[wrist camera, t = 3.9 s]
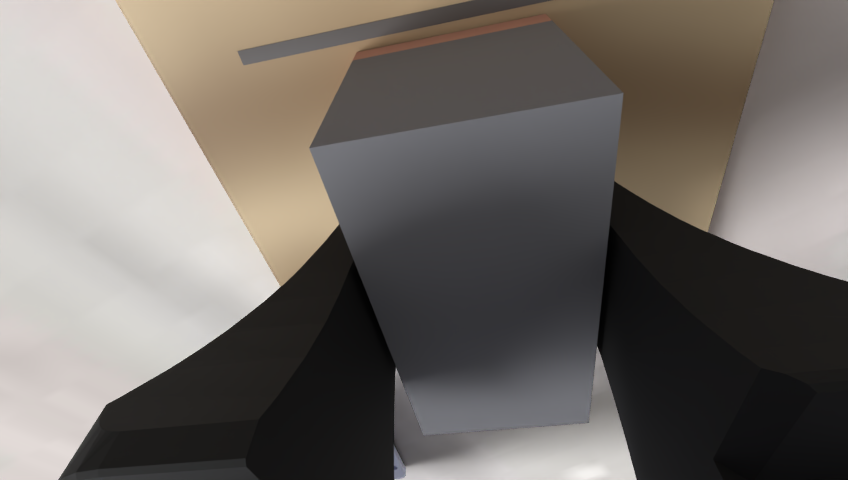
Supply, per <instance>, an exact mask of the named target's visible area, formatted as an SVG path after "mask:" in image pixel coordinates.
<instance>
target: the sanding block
mask: <svg viewBox="0 0 848 480" xmlns="http://www.w3.org/2000/svg"><path fill="white" fill-rule="evenodd" d="M623 94H624V93H623V92H622V91H621V90H620V89H619V88H618V87H617V86H616V85H615V84H614V83H613V82H612V81H611V80H610V79H609V78H608V77H607V76H606V75H605V74H604V73H603V72H602V71H601V70H600V69H599V68H598V67H597V66H596V65H595V64H594V62H593V61H592V60H591V59H590V58H589V57H588V56H587V55H586V54H585V53H584V52H583V51H582V50H581V49H580V48H579V47H578V46H577V45H576V44H575V43H574V42H573V41H572V40H571V39H570V38H569V37H568V36H567V35H566V34H565V33H564V32H563V31H562V30H561V29H560V28H559V27H558V26H557V25H556V24H555V23H554V22H553V21H552V20H551V19H550V18H549V17H548V16H547V15H546V14H542V15H537V16H532V17H527V18H522V19H517V20H512V21H507V22H502V23H498V24H493V25H488V26H483V27H478V28H473V29H468V30H463V31H458V32H453V33H448V34H444V35H439V36H434V37H429V38H424V39H419V40H414V41H409V42H404V43H399V44H394V45H390V46H385V47H380V48H375V49H370V50H365V51H360V52H357V53H356V55H355V57H354V59H353V61H352V63H351V65H350V67H349V69H348V71H347V73H346V75H345V77H344V79H343V81H342V83H341V85H340V87H339V89H338V91H337V93H336V95H335V97H334V99H333V101H332V103H331V105H330V107H329V109H328V111H327V113H326V115H325V117H324V119H323V121H322V123H321V125H320V127H319V129H318V131H317V133H316V135H315V137H314V139H313V141H312V143H311V145H310V147H309V149H310V152H311V154H312V157H313V159H314V162H315V164H316V167H317V169H318V172H319V174H320V177H321V179H322V182H323V184H324V187H325V189H326V192H327V194H328V197H329V199H330V202H331V204H332V207H333V209H334V212H335V214H336V217H337V219H338V222H339V224H340V227H341V229H342V232H343V234H344V237H345V240H346V242H347V245H348V247H349V250H350V252H351V255H352V257H353V260H354V262H355V265H356V267H357V270H358V272H359V275H360V277H361V280H362V282H363V285H364V287H365V290H366V292H367V295H368V297H369V300H370V302H371V305H372V307H373V310H374V312H375V315H376V317H377V320H378V322H379V325H380V328H381V330H382V333H383V335H384V338H385V340H386V343H387V345H388V348H389V350H390V353H391V355H392V358H393V360H394V363H395V365H396V368H397V370H398V373H399V375H400V378H401V380H402V383H403V385H404V388H405V390H406V393H407V395H408V398H409V400H410V403H411V405H412V408H413V410H414V413H415V415H416V418H417V421H418V423H419V426H420V428H421V431H422V433H423V436H424V435H437V434H450V433H463V432H476V431H489V430H502V429H515V428H528V427H541V426H554V425H567V424H580V423H589V415H590V405H591V396H592V386H593V377H594V368H595V358H596V349H597V339H598V330H599V320H600V311H601V301H602V292H603V282H604V273H605V264H606V254H607V245H608V235H609V226H610V216H611V207H612V197H613V188H614V179H615V169H616V160H617V150H618V141H619V131H620V122H621V112H622V103H623Z"/></svg>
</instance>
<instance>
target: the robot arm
mask: <svg viewBox="0 0 848 480" xmlns="http://www.w3.org/2000/svg"><path fill="white" fill-rule="evenodd" d="M597 346H598V349H599V352H600V354H601V357H602V360H603V363H604V367H605V370H606V373H607V376H608V380H609V383H610V386H611V390H612V393H613V396H614V400H615V403H616V407H617V410H618V413H619V417H620V420H621V424H622V427H623V431H624V434H625V438H626V441H627V445H628V449H629V452H630V456H631V460H632V464H633V467H634V471H635V475H636V478H637V480H848V282H847V281H843V280H840V279H836V278H833V277H829V276H826V275H822V274H819V273H816V272H813V271H810V270H806V269H803V268H800V267H797V266H794V265H791V264H788V263H785V262H782V261H780V260H777V259H774V258H771V257H768V256H765V255H763V254H760V253H757V252H754V251H751V250H749V249H746V248H744V247H741V246H739V245H736V244H733V243H731V242H729V241H726V240H724V239H722V238H719V237H717V236H715V235H713V234H710V233H708V232H706V231H703V230H701V229H699V228H697V227H695V226H693V225H691V224H688V223H686V222H684V221H682V220H680V219H679V218H677V217H675V216H673V215H671V214H669V213H667V212H665V211H663V210H662V209H660V208H658V207H656V206H654V205H653V204H651V203H649V202H647V201H646V200H644V199H642V198H641V197H639V196H637V195H636V194H634V193H632V192H631V191H629V190H628V189H626V188H624V187H623V186H621V185H620V184H618V183H617V182H615V181H614V188H613V197H612V207H611V216H610V226H609V235H608V245H607V254H606V264H605V273H604V282H603V292H602V301H601V311H600V320H599V330H598V339H597ZM395 370H396V365H395V363H394V360H393V358H392V355H391V353H390V350H389V348H388V345H387V343H386V340H385V338H384V335H383V333H382V330H381V328H380V325H379V322H378V320H377V317H376V315H375V312H374V310H373V307H372V305H371V302H370V300H369V297H368V295H367V292H366V290H365V287H364V285H363V282H362V280H361V277H360V275H359V272H358V270H357V267H356V265H355V262H354V260H353V257H352V255H351V252H350V250H349V247H348V245H347V242H346V240H345V237H344V234H343V232H342V229H341V227H340V224H339V225H338V226H337V227H336V229H335V230H334V231H333V232H332V233H331V235H330V236H329V237H328V238H327V240H326V241H325V242H324V243H323V244H322V245H321V246H320V247H319V248H318V250H317V251H316V252H315V253H314V254H313V255H312V256H311V257H310V258H309V259H308V260H307V261H306V263H305V264H304V265H303V266H302V267H301V268H300V269H299V270H298V271H297V272H296V273H295V274H294V275H293V276H292V277H291V278H290V279H289V280H288V281H287V282H286V283H285V284H284V285H282V286H281V287H280V288H279V289H278V290H277V291H276V292H275V293H273V294H272V295H271V296H270V297H269V298H268V299H267V300H265V301H264V302H263V303H262V304H261V305H259V306H258V307H257V308H256V309H254V310H253V311H252V312H250V313H249V314H248V315H247V316H245V317H244V318H243V319H241V320H240V321H239V322H238V323H236V324H235V325H234V326H232V327H231V328H230V329H229V330H227V331H226V332H224V333H223V334H222V335H220V336H219V337H217V338H216V339H214V340H213V341H211V342H210V343H209V344H207V345H206V346H204V347H203V348H201V349H200V350H198V351H197V352H195V353H194V354H192V355H191V356H189V357H187V358H186V359H184V360H183V361H181V362H180V363H178V364H176V365H175V366H173V367H172V368H170V369H168V370H167V371H165V372H163V373H162V374H160V375H158V376H156V377H155V378H153V379H151V380H149V381H148V382H146V383H144V384H142V385H141V386H139V387H137V388H136V389H134V390H132V391H130V392H129V393H127V394H125V395H123V396H122V397H120V398H118V399H116V400H114V401H112V402H111V403H109V404H107V405H106V406H105V408H104V409H103V411H102V412H101V414H100V416H99V417H98V419H97V420H96V422H95V423H94V425H93V427H92V428H91V430H90V431H89V433H88V434H87V436H86V437H85V439H84V441H83V442H82V444H81V445H80V447H79V448H78V450H77V452H76V453H75V455H74V456H73V458H72V459H71V461H70V463H69V464H68V466H67V467H66V469H65V470H64V472H63V473H62V475H61V477H60V478H59V480H394V479H400V478H403V477H405V476H406V468H405V466H404V464H403V462H402V460H401V458H400V456H399V454H398V452H397V450H396V448H395V446H394V395H395Z"/></svg>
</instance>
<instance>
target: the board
mask: <svg viewBox="0 0 848 480" xmlns="http://www.w3.org/2000/svg"><path fill="white" fill-rule="evenodd" d="M116 2H117V4H118V6H119V7H120V9H121V11H122V13H123V14H124V16H125V18H126V19H127V21H128V23H129V25H130V26H131V28H132V30H133V32H134V33H135V35H136V37H137V39H138V40H139V42H140V44H141V45H142V47H143V49H144V51H145V52H146V54H147V56H148V58H149V59H150V61H151V63H152V65H153V66H154V68H155V70H156V71H157V73H158V75H159V77H160V78H161V80H162V82H163V84H164V85H165V87H166V89H167V91H168V92H169V94H170V96H171V97H172V99H173V101H174V103H175V104H176V106H177V108H178V110H179V111H180V113H181V115H182V116H183V118H184V120H185V122H186V123H187V125H188V127H189V129H190V130H191V132H192V134H193V136H194V137H195V139H196V141H197V142H198V144H199V146H200V148H201V149H202V151H203V153H204V155H205V156H206V158H207V160H208V162H209V163H210V165H211V167H212V168H213V170H214V172H215V174H216V175H217V177H218V179H219V181H220V182H221V184H222V186H223V188H224V189H225V191H226V193H227V194H228V196H229V198H230V200H231V201H232V203H233V205H234V207H235V208H236V210H237V212H238V214H239V215H240V217H241V219H242V220H243V222H244V224H245V226H246V227H247V229H248V231H249V233H250V234H251V236H252V238H253V240H254V241H255V243H256V245H257V246H258V248H259V250H260V252H261V253H262V255H263V257H264V259H265V260H266V262H267V264H268V266H269V267H270V269H271V271H272V272H273V274H274V276H275V278H276V279H277V281H278V283H279V285H280V286H282V285H284V284H285V283H286V282H287V281H288V280H289V279H290V278H291V277H292V276H293V275H294V274H295V273H296V272H297V271H298V270H299V269H300V268H301V267H302V266H303V265H304V264H305V263H306V261H307V260H308V259H309V258H310V257H311V256H312V255H313V254H314V253H315V252H316V251H317V250H318V248H319V247H320V246H321V245H322V244H323V243H324V242H325V241H326V240H327V238H328V237H329V236H330V235H331V233H332V232H333V231H334V230H335V229H336V227H337V226H338V225H339V222H338V219H337V217H336V214H335V212H334V209H333V207H332V204H331V202H330V199H329V197H328V194H327V192H326V189H325V187H324V184H323V182H322V179H321V177H320V174H319V172H318V169H317V167H316V164H315V162H314V159H313V157H312V154H311V152H310V149H309V147H310V145H311V143H312V141H313V139H314V137H315V135H316V133H317V131H318V129H319V127H320V125H321V123H322V121H323V119H324V117H325V115H326V113H327V111H328V109H329V107H330V105H331V103H332V101H333V99H334V97H335V95H336V93H337V91H338V89H339V87H340V85H341V83H342V81H343V79H344V77H345V75H346V73H347V71H348V69H349V67H350V65H351V63H352V61H353V59H354V57H355V55H356V53H357V52H360V51H365V50H370V49H375V48H380V47H385V46H390V45H394V44H399V43H404V42H409V41H414V40H419V39H424V38H429V37H434V36H439V35H444V34H448V33H453V32H458V31H463V30H468V29H473V28H478V27H483V26H488V25H493V24H498V23H502V22H507V21H512V20H517V19H522V18H527V17H532V16H537V15H542V14H546V15H547V16H548V17H549V18H550V19H551V20H552V21H553V22H554V23H555V24H556V25H557V26H558V27H559V28H560V29H561V30H562V31H563V32H564V33H565V34H566V35H567V36H568V37H569V38H570V39H571V40H572V41H573V42H574V43H575V44H576V45H577V46H578V47H579V48H580V49H581V50H582V51H583V52H584V53H585V54H586V55H587V56H588V57H589V58H590V59H591V60H592V61H593V62H594V64H595V65H596V66H597V67H598V68H599V69H600V70H601V71H602V72H603V73H604V74H605V75H606V76H607V77H608V78H609V79H610V80H611V81H612V82H613V83H614V84H615V85H616V86H617V87H618V88H619V89H620V90H621V91H622V92H623V93H624V94H623V103H622V112H621V122H620V131H619V141H618V150H617V160H616V169H615V179H614V181H615V182H617V183H618V184H620V185H621V186H623V187H624V188H626V189H628V190H629V191H631V192H632V193H634V194H636V195H637V196H639V197H641V198H642V199H644V200H646V201H647V202H649V203H651V204H653V205H654V206H656V207H658V208H660V209H662V210H663V211H665V212H667V213H669V214H671V215H673V216H675V217H677V218H679V219H680V220H682V221H684V222H686V223H688V224H691V225H693V226H695V227H697V228H699V229H701V230H703V231H706V232H708V229H709V225H710V222H711V218H712V215H713V211H714V208H715V204H716V201H717V197H718V194H719V191H720V187H721V184H722V180H723V177H724V173H725V170H726V166H727V163H728V159H729V156H730V152H731V149H732V145H733V142H734V138H735V135H736V131H737V128H738V124H739V121H740V117H741V114H742V110H743V107H744V103H745V100H746V97H747V93H748V90H749V86H750V83H751V79H752V76H753V72H754V69H755V65H756V62H757V58H758V55H759V51H760V48H761V44H762V41H763V37H764V34H765V30H766V27H767V23H768V20H769V16H770V13H771V10H772V6H773V3H774V0H116Z"/></svg>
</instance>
